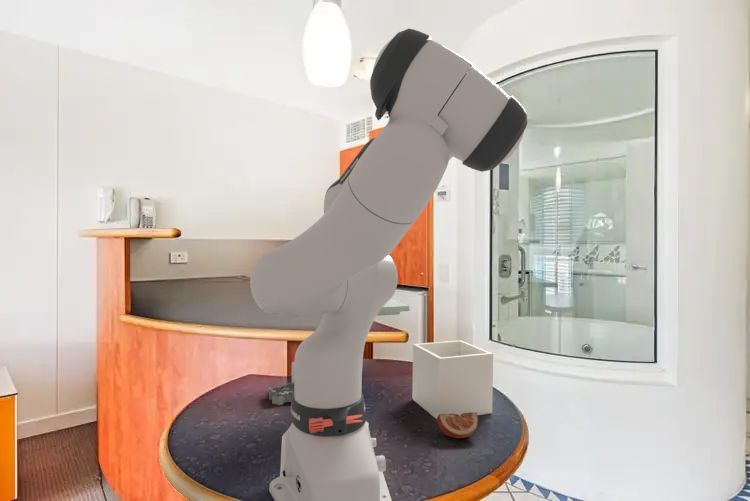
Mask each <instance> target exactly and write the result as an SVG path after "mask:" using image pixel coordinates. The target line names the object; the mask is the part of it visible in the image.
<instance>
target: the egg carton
mask: <svg viewBox="0 0 750 501" xmlns="http://www.w3.org/2000/svg"><path fill="white" fill-rule="evenodd" d="M267 390H268V399H269V400H271V404H272V405H278V406H282V405H284V404H285V403H292V397H293V396H294V382H293V383H292V381H291V382H288V383H286V384H280V385H277V386H275V387H273V386H272V387H267Z"/></svg>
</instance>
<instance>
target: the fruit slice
mask: <svg viewBox="0 0 750 501" xmlns="http://www.w3.org/2000/svg"><path fill="white" fill-rule="evenodd" d="M478 416H479V415H477V412H474V413H473V412H472V413H463V414H461V415H458V414H454V413H453V414H439V415H438V417H437V419H436V422H437V425H438V427H439V429H440V431H441V432H442V433H443V434H444V435H446V436H448V437H450V438H453V439H465V438H467V437H470V436H471V435H472V434H473V433H474V432H475V431H476V429H477V427H478V424H479V417H478Z"/></svg>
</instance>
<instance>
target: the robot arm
mask: <svg viewBox="0 0 750 501" xmlns="http://www.w3.org/2000/svg"><path fill="white" fill-rule="evenodd" d="M473 64H474V63H473V62H471V61H470V60H468V59H466V58H465V57H463V56H461V55H460V54H458V53H457V52H455V51H453V50H451V49H450V48H448V47H446V46H444V45H443V44H441V43H439V42H436V41H435V40H433V39H432V36H431V35H429V34H427V33H425V32H422V31H419V30H417V29H413V28H406V29H405V30H402V31H399V32H397V33H396V34H395V36H393V38H391V39H390V40H389V41H388V42H387V43H386V44H385V45H384V46H383V47H382V49H381V50H380V51H379V53H378V55H377V57H376V59H375V62H374V65H373V66H372V67H373V69H372V73H371V76H370V79H369V80H370V81H369V86H370V95H371V99H372V102H373V103H374V104H373V105H374V106H375V107H376V110H375V113H374V116H375V118H376V119H377V121H380V120H381V119H382V117H384V116H385V114H386V113H387V114H388V117H389V118H388V122H387V124H386V125H385V126H384V127H383V128H382V129H381V130H380V132H379V133H378V134H377V135H376V136H375V137H373V138H372V139H369V141H368V142H366V143H365V145H364V146H363V147H362V148H361V150H359V152H358V153H357V154H356V156H355V157H354V158H353V159H352V161H351V163H350V164H349V165H348V166H347V168H346V169H345V170H344V172H343V173H342V174H341V176H339V178H338V179H337V180H336V181H334V182H333V183H332V184H331V185H330V186H329V187H328V188H327V190H326V192H325V195H324V200H323V212H324V213H323V215H322V216H321V217H320V218H319V219H318V220H317V221H315V223H314V224H312V225H310V226H309V227H308V228H307V229H306V230H304V231H303V232H302V233H300V234H299V235H298V236H296V237H295V238H293V239H292V240H290V241H287V243H285V244H282V245H280V246H278V247H276V248H273V249H270V250H267V251H264V252H263V253H262V254H260V256H259V257H258V259H256V261H255V263H254V265H253V267H252V268H251V272H250V280H249V285H250V286H249V287H250V291H251V292H250V293H251V295H252V298H253V299H254V302H255V303H256V305H257V306H258V307H259V308H260V309H261V311H263V313H266V314H268V315H271V316H272V315H273V316H281V317H290V318H291V317H293V318H298V317H308V316H316V315H317V316H318V315H322V317H321V318H322V319H321V321H320V323H319V325H318V326H317V328H316V329H315V330H314V331H313V332H312V333H311V334H310V335H309V336H307V337H306V338H305V339H304V340H302V341H301V342H300V344H299V345H298V347H297V349H296V351H295V355H294V361H295V377H294V396H293V397H292V402H291V403H290V404H291V405H290V416H291V417H290V420H291V424H290V426H289V428H288V429H287V430H286V431H285V432H284V433H283V435H282V437H281V448H280V449H281V450H280V469H279V470H280V471H279V474H280V475H279V476H277V477H276V478H274V479H273V480H271V482H270V483H269V488H268V491H269V493H270V495H271V497H272V498H273V500H274V501H393V500H392V497H391V494H390V491H389V487H388V485H387V481H386V479H385V475H384V472H386V470H387V461H386V456H385V455H383V454H382V455H376V454H375V449H374V448H376V447H377V445H378V444H377V438H376V437H372V436H371V433H370V428H369V427H370V426H369V425H370V424H369V422H368V421H367V417H366V410H367V409H366V404H365V397H364V396H365V395H364V394H363V393H362V382H363V381H362V379H363V363H364V362H363V361H364V351H365V345H366V341H367V338H368V335H369V332H370V330H371V328H372V325H373V323H374V321H375V318H376V317H378V316H377V314H378V312H379V311H380V310H381V308H382V307H383V306H384V305H385V304H386V303H387V302H388V301H389V300H390V299H392V297H393V296H394V294H395V293H396V290H397V286H398V280H399V279H398V278H399V277H398V270H397V266H396V263H395V262H394V260H393V258H392V257H391V256H390V255H391V254H392V253H393V251H394V250H395V249H396V247H397V246H398V245H399V243H400V242H401V241H402V240H403V238H404V237H405V236H406V234H407V233H408V232H409V230H410V229H411V228H412V226H413V225H414V224H415V222H416V221H417V220H418V219H419V217H420V215H422V212H423V211H424V210H425V208H426V207H427V206H428V204H429V202H430V201H431V199H432V198H433V196H434V194H435V192H436V191H437V189H438V187H439V185H440V183H441V181H442V179H443V176H444V174H445V172H446V170H447V168H448V165H449V161H451V159H452V158H455V159H457V160H459V161H461V162H462V165H463V166H465V167H468V168H470V169H472V170H475V171H478V172H487V171H492V170H494V169H495V168H497V167H498V166H499V165H501V164H503V163H504V162H505V161H506V160H508V159H509V158H510V157H511V156H512V155H513V154H514V153H515V152H516V150H517V148H519V146H520V144H521V142H522V139H523V136H524V134H525V131H526V130H525V129H526V128H527V126H528V114H527V113H528V112H527V111H526V109H525V108H524V107H523V105H522V104H521V103H520V101H519V100H517V99H516V97H515V96H513V95H511V96H509V95H508V94H507V93H506V92H505V91H504V90H503V89H502V88H500V87H499V85H498V84H496V83H495V82H494V81H493V80H492V79H491V78H489V77H488V76H487V75H486V74H484V73H483V72H482V71H481V70H480V69H478V68H476V67H475V66H474V65H473Z"/></svg>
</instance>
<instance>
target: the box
mask: <svg viewBox="0 0 750 501" xmlns="http://www.w3.org/2000/svg"><path fill="white" fill-rule="evenodd" d="M493 375H494V353H493V352H490V351H488V350H485V349H483V348H481V347H479V346H476V345H473V344H471V343H469V342H467V341H463V340H461V339H460V340H449V341H447V340H446V341H436V342H434V341H433V342H424V343H412V398H411V399H412V400H413V402H415V403H416V404H418V405H419V406H420V408H422V409H424V410H425V411H426V412H427V413H429V414H430V415H431V416H432V417H433V418H435V419H436V420H437V417H438V415H439V414H453V413H454V414H458V415H461V414H463V413H472V412H473V413H474V412H477V416H481V415H489V414H493V389H494V387H493V384H494V376H493Z"/></svg>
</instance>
